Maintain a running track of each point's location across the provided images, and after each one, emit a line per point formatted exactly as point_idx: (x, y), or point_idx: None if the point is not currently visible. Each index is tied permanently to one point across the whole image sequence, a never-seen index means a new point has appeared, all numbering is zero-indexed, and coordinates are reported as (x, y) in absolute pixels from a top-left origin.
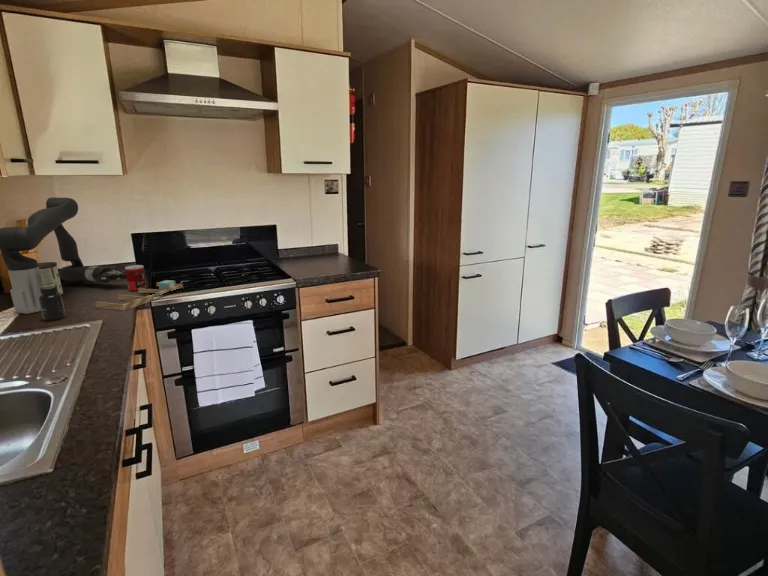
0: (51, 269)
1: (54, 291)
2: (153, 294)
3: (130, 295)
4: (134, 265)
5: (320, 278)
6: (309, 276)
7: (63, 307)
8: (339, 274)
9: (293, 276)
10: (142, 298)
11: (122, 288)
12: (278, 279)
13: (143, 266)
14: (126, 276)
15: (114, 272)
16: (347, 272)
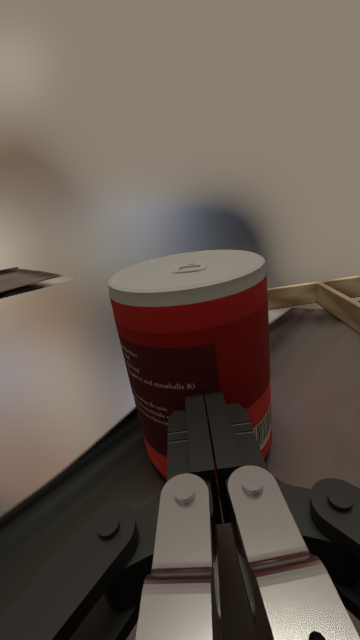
0: None
1: None
2: (283, 286)
3: (353, 303)
4: (129, 287)
5: (45, 272)
6: (26, 279)
7: None
8: (21, 272)
9: (19, 286)
10: (331, 280)
11: (248, 628)
12: (41, 286)
13: (151, 261)
14: (267, 345)
15: (281, 589)
16: (9, 273)
